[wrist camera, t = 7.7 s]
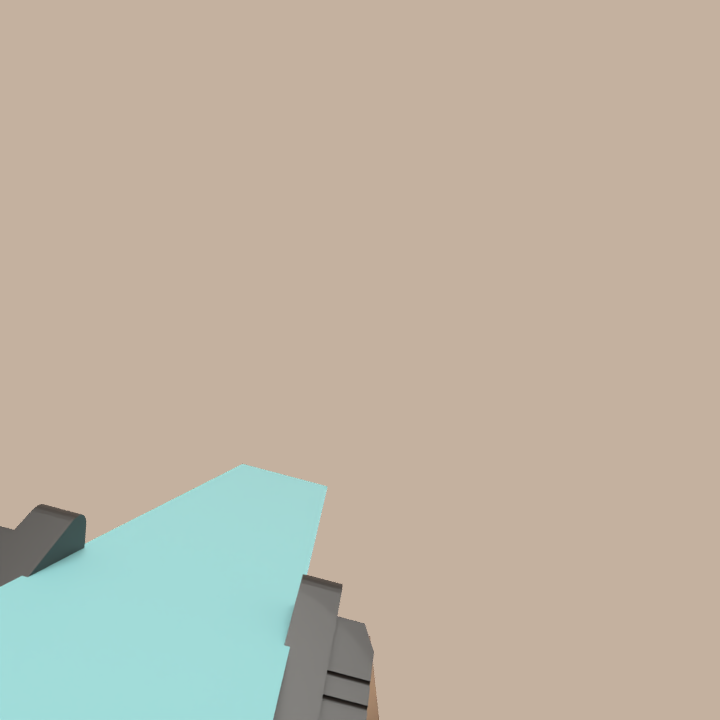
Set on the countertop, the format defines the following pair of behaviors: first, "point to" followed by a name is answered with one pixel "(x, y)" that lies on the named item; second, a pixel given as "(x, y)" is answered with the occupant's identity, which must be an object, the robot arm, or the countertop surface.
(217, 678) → the teal block
